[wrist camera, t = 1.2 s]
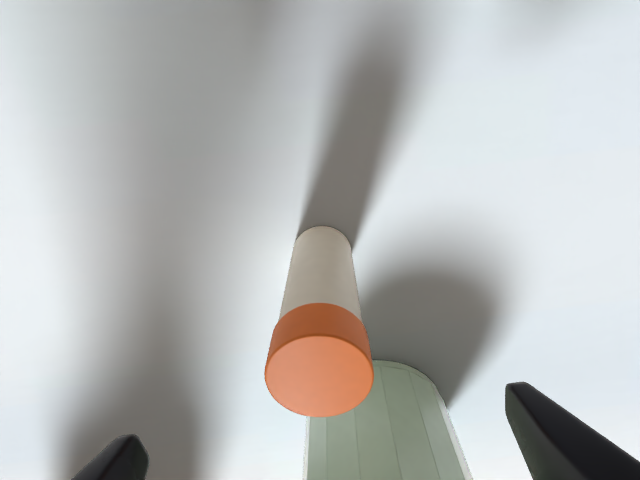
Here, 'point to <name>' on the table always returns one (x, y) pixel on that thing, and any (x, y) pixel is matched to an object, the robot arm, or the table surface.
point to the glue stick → (320, 331)
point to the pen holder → (387, 434)
